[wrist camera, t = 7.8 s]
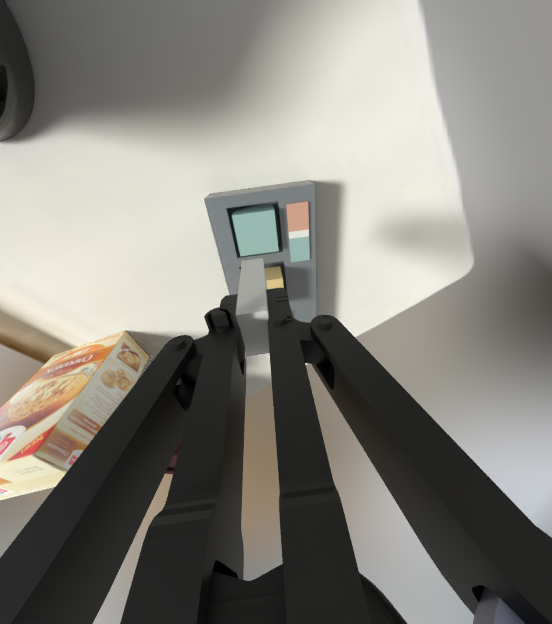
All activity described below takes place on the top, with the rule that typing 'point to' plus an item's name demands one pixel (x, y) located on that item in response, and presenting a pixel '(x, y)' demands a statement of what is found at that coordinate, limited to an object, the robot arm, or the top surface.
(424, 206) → the top surface
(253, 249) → the key
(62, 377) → the coffeecake box
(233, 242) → the keypad board
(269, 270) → the key mid
